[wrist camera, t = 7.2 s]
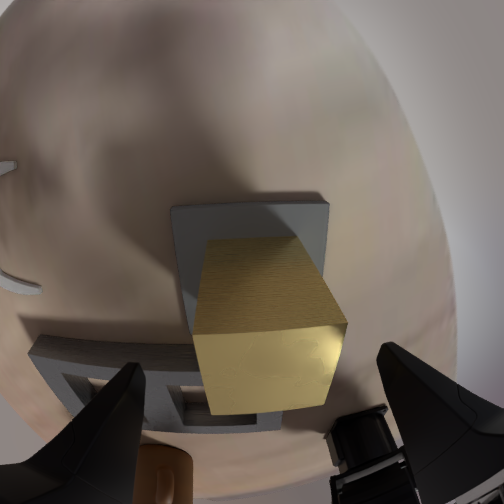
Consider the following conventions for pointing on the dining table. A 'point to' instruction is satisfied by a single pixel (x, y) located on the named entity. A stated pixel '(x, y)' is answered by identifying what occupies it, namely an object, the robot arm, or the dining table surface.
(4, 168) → the pliers
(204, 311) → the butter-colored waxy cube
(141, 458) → the mug
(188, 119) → the dining table surface
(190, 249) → the pad
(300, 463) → the dining table surface
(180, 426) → the grey flat frame
